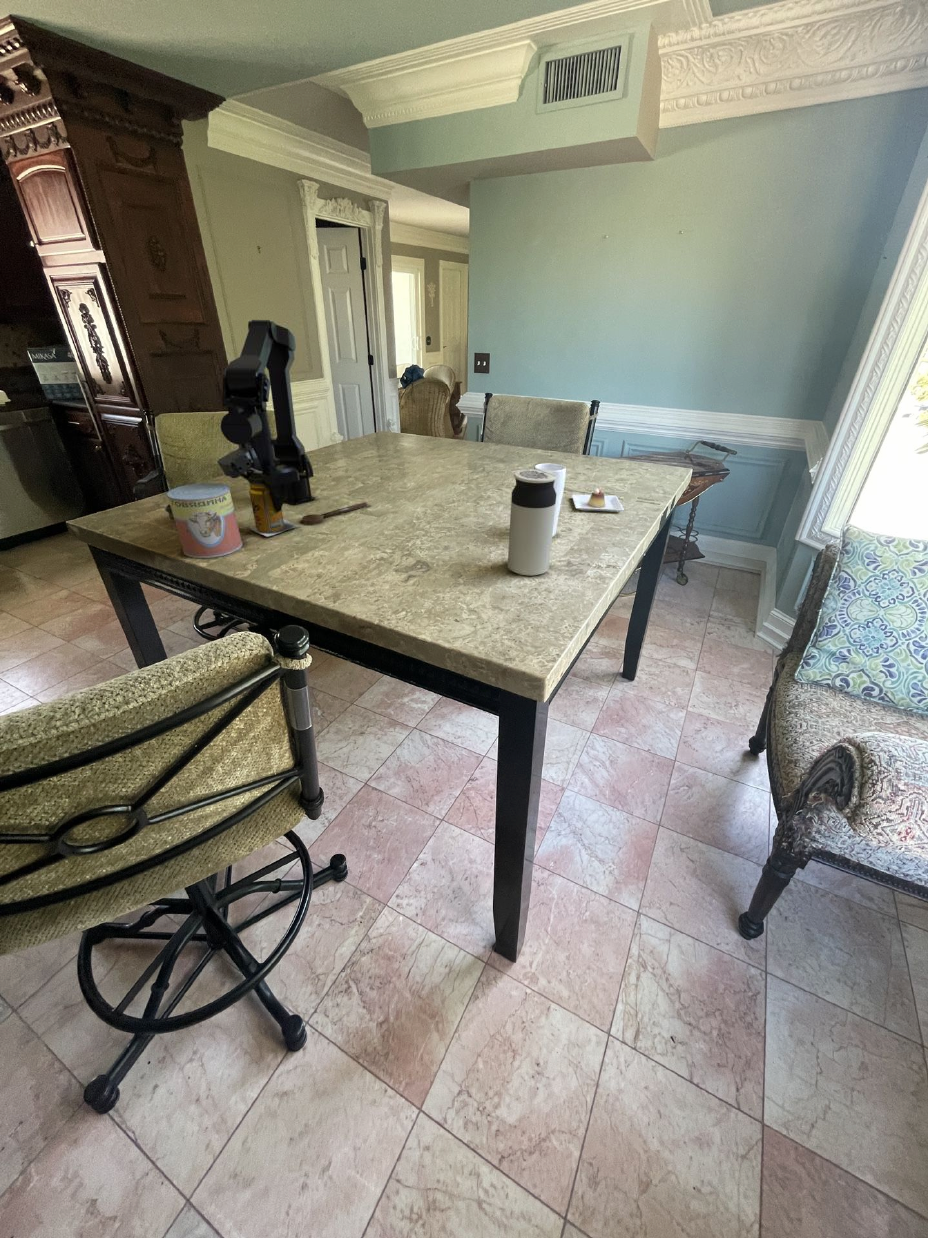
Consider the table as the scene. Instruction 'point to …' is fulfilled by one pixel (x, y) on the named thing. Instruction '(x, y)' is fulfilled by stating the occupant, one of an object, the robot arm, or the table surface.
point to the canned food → (205, 519)
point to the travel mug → (531, 522)
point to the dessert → (597, 502)
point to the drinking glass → (555, 486)
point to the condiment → (265, 509)
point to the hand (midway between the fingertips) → (270, 507)
